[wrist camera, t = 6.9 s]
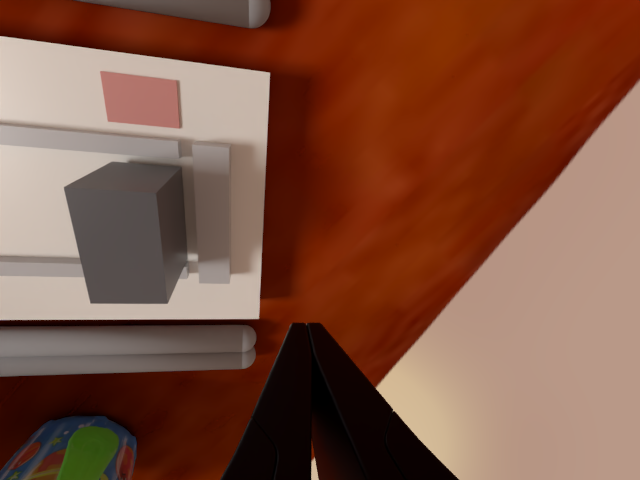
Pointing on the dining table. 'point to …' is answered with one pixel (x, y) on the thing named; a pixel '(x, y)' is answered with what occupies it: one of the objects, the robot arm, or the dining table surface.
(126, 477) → the snack cup
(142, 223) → the switch knob
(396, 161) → the dining table surface
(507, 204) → the dining table surface
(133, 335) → the grey twin rods
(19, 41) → the breaker panel
